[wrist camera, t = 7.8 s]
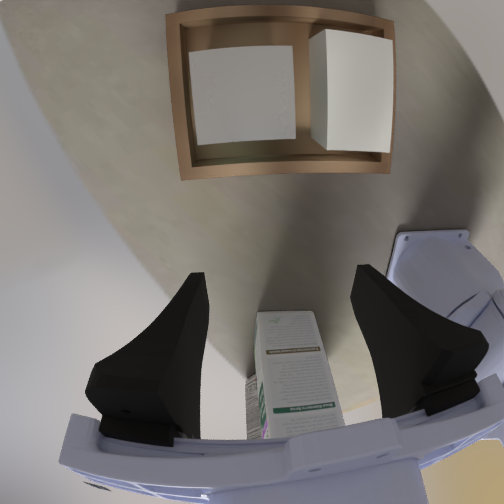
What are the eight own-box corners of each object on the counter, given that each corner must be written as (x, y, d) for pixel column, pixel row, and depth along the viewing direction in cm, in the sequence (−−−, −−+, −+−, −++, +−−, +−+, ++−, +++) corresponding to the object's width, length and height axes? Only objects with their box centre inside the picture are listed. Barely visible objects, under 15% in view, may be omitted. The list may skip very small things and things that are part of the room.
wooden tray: (377, 26, 14) (393, 21, 12) (375, 163, 20) (389, 173, 18) (174, 22, 14) (165, 14, 12) (187, 169, 20) (181, 180, 17)
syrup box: (255, 310, 27) (266, 458, 15) (315, 308, 27) (351, 447, 15) (253, 346, 30) (261, 474, 18) (306, 345, 31) (330, 467, 18)
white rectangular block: (364, 46, 14) (392, 40, 11) (364, 139, 18) (389, 152, 15) (308, 39, 14) (325, 28, 11) (310, 137, 18) (326, 150, 15)
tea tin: (275, 58, 15) (292, 45, 10) (278, 123, 18) (295, 138, 12) (204, 63, 15) (188, 52, 10) (210, 127, 17) (197, 145, 12)
